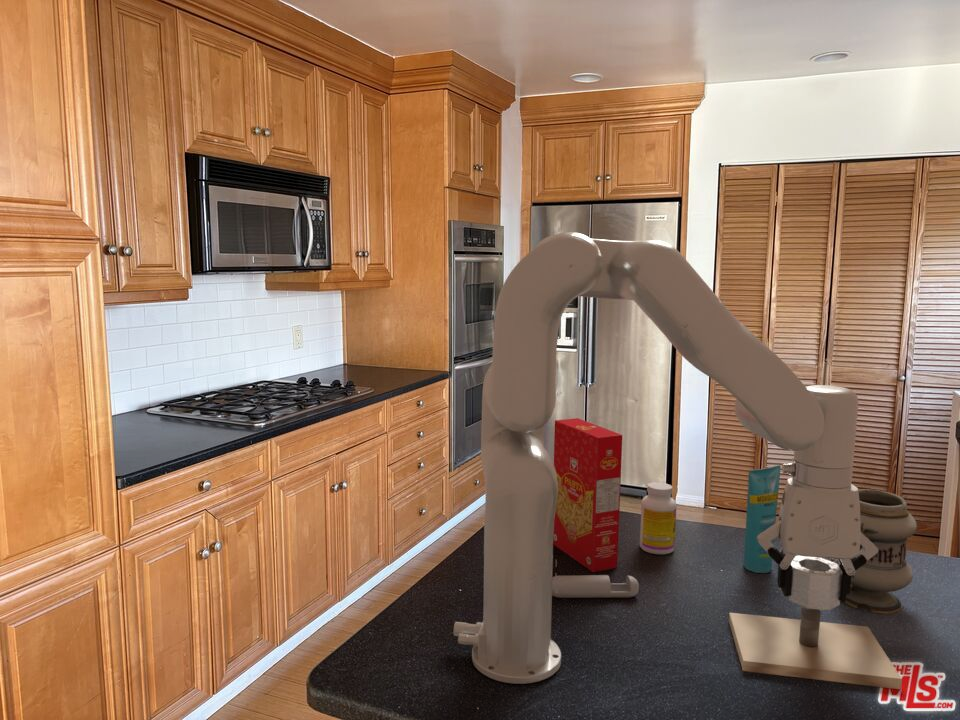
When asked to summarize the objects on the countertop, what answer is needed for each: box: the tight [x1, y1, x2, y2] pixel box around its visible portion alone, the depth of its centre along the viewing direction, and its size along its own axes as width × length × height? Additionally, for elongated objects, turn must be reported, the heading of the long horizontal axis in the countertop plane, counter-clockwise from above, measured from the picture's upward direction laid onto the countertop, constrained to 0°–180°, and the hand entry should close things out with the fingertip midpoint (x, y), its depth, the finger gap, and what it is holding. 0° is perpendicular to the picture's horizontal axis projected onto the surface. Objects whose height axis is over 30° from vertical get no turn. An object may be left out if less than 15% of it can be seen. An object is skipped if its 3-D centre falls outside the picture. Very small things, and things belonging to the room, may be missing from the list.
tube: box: [743, 464, 782, 574], centre depth 132 cm, size 7×5×19 cm, turn 120°
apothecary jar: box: [830, 488, 918, 614], centre depth 120 cm, size 12×12×18 cm
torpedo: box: [552, 559, 640, 599], centre depth 121 cm, size 18×5×7 cm, turn 92°
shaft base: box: [728, 606, 903, 690], centre depth 104 cm, size 20×14×6 cm
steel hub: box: [787, 555, 842, 611], centre depth 103 cm, size 7×7×5 cm
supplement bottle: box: [639, 481, 677, 556], centre depth 141 cm, size 7×7×13 cm
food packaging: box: [553, 417, 623, 573], centre depth 137 cm, size 15×5×25 cm, turn 25°
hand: (812, 594), depth 103 cm, fingers closed on steel hub, 6 cm apart
